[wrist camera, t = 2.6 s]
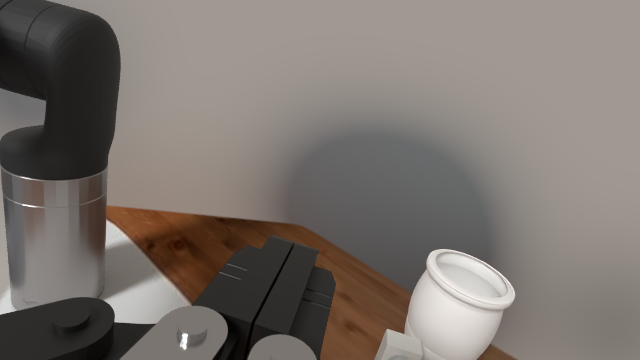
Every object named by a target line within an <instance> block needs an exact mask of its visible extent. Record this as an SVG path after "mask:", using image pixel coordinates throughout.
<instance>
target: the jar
mask: <svg viewBox="0 0 640 360" xmlns="http://www.w3.org/2000/svg"><path fill="white" fill-rule="evenodd" d="M514 298H515V292H514V289H513V287H512V286H511V284H510V283H509V282H508V280H507V279H506V278H505V277H504V276H503V275H502V274H500V273H499V272H498V271H497V270H495V269H494V268H492V267H491V266H489V265H488V264H486V263H484V262H482V261H480V260H479V259H477V258H475V257H472V256H470V255H467V254H464V253H461V252H457V251H453V250H446V249H445V250H443V249H441V250H435V251H433V252H431V253H430V255H429V257H428V259H427V270H426V271H425V272H424V274H423V275H422V277H421V278H420V280H419V281H418V283H417V285H416V287H415V290H414V292H413V294H412V297H411V300H410V304H409V309H408V315H407V319H406V323H405V335H408V336H411V337H414V338H417V339H420V340H421V347H422V353H423V357H422V359H421V360H477V358H479V357H480V355H481V354H482V353H483V352H484V351H485V350H486V348H487V347H488V346H489V344H490V343H491V341H492V339H493V338H494V336H495V334H496V332H497V330H498V327H499V324H500V321H501V318H502V314H503V309H505V308H507V307H509V306H510V305H511V304H512V302H513V300H514Z"/></svg>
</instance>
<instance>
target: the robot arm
mask: <svg viewBox="0 0 640 360" xmlns="http://www.w3.org/2000/svg"><path fill="white" fill-rule="evenodd" d="M120 66H121V65H120V50H119V45H118V41H117V38H116V35H115V33H114V31H113V29H112V28H111V27H110V25H109V24H108V23H107V22H106V21H105V20H104V19H102V18H101V17H99V16H97V15H95V14H92V13H90V12H87V11H83V10H80V9H76V8H73V7H68V6H65V5H61V4H57V3H53V2H50V1H46V0H0V88H2V89H5V90H8V91H11V92H15V93H19V94H22V95H26V96H30V97H33V98H38V99H41V100H45V101H46V113H45V121H44V125H39V126H31V127H25V128H20V129H17V130H13V131H10V132H8V133H6V134H5V135H4V136H3V137H2V138H1V140H0V168H1V181H2V190H3V202H4V215H5V227H6V239H7V251H8V263H9V276H10V288H11V300H12V304H13V306H14V307H15V308H16V309H17V310H18V311H14V312H10V313H6V314H2V315H0V360H320V352H321V348H322V343H323V339H324V334H325V330H326V326H327V321H328V317H329V312H330V308H331V303H332V299H333V295H334V290H335V286H336V283H335V280H334V278H333V275H332V272H331V271H328V270H325V269H322V268H319V267H316V266H315V264H316V260H317V257H318V253H319V250H318V249H315V248H312V247H309V246H305V245H302V244H299V243H296V244H295V242H292V241H289V240H286V239H283V238H280V237H277V236H273V235H271V236H270V237H269V239H268V240H267V242H266V243H265V245H264V246H263V247H262V249H259V248H256V247H253V246H247V247H245V248H243V249H241V250H239V251H237V252H235V253H234V254H233V256H232V257H231V258H230V259H229V261H228V262H227V264H225V265H224V267H223V268H222V269H221V270H220V273H218V274H217V275H216V276H215V278H214V279H213V280H212V281H211V283H210V284H209V285H208V286H207V287H206V289H205V290H204V291H203V292H202V294H201V295H200V296H199V297H198V298H197V300H196V301H195V302H194V303H193V305H192V306H187V307H182V308H179V309H176V310H174V311H171V312H170V313H168V314H167V315H165V316H164V317H163V318H162V319H161V320H160V321H159V322H158V323H157V324H132V323H116V322H114V318H115V314H114V310H113V309H112V307H111V306H110V305H109V304H108V303H106V302H105V301H103V300H100V299H97V298H98V296H99V295H100V294H101V292H102V290H103V288H104V268H105V241H106V210H107V171H108V154H109V150H110V147H111V144H112V141H113V137H114V132H115V122H116V121H115V120H116V110H117V100H118V91H119V82H120V81H119V80H120V69H121V68H120ZM294 245H295V246H294Z"/></svg>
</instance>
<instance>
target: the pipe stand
mask: <svg viewBox="0 0 640 360" xmlns="http://www.w3.org/2000/svg"><path fill="white" fill-rule="evenodd" d="M422 357H423V353H422V347H421V340H420V339H417V338H414V337H411V336H408V335H405V334H401V333H398V332H395V331H392V330H389V329H387V330H386V332H385V335H384V337H383V340H382V342H381V345H380V347H379V350H378V352H377V355H376V357H375V360H421V359H422Z"/></svg>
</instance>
